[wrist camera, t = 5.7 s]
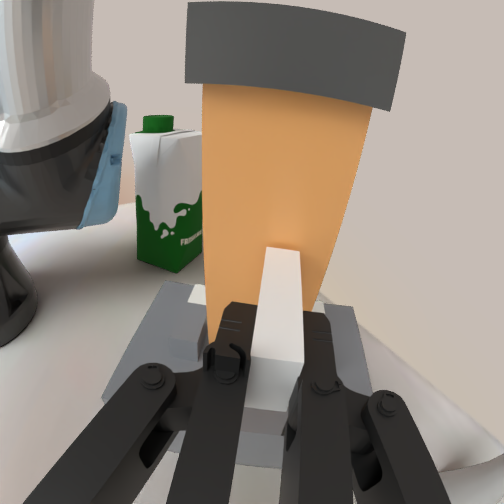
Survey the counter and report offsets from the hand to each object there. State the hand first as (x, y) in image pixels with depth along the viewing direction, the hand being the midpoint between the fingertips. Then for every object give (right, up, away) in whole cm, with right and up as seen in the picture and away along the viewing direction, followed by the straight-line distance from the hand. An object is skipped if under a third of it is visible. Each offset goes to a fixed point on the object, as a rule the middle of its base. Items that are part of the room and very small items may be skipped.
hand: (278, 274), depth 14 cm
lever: (-1, -6, +8) cm, 10 cm away
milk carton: (-13, 0, +30) cm, 33 cm away
